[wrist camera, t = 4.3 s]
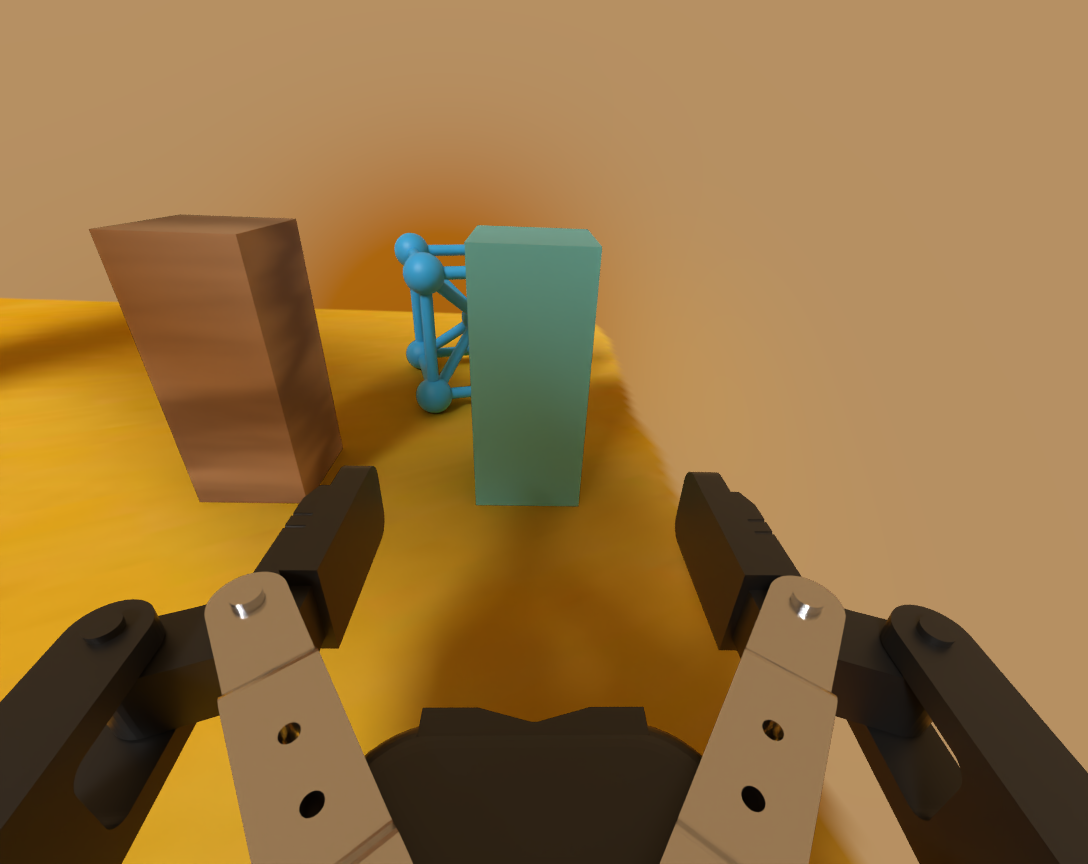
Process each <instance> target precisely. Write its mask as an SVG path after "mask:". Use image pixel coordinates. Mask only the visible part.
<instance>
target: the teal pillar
mask: <svg viewBox="0 0 1088 864" xmlns="http://www.w3.org/2000/svg"><path fill="white" fill-rule="evenodd" d="M464 244H465V267H466V289H467V312H468V335H469V358H470V381H471V403H472V426H473V449H474V472H475V495H476V505H515V506H578V504H579V493H580V482H581V472H582V461H583V450H584V439H585V428H586V417H587V406H588V395H589V384H590V374H591V363H592V352H593V341H594V330H595V318H596V308H597V297H598V286H599V276H600V264H601V253H602V246H601V245H600V244H599V243H598V241H597V240H596V239H595V238H594V237H593V236H592V234H591V233H590V232H589V230H587V229H562V228H535V227H508V226H479V225H478V226H477V227H476V228H475V229H474V231H473V232H472V233H471V235H470V236H469V237H468V238H467V240H466V241H465V242H464Z"/></svg>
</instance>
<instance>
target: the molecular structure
mask: <svg viewBox="0 0 1088 864" xmlns="http://www.w3.org/2000/svg"><path fill="white" fill-rule="evenodd" d="M395 255H396V257H397V259H398V261H399V262H400V263H401V264H402V265H404V267H403V276H404V280H405V282H406V284H407V285H408V287H409V288H410V291H411V300H412V311H413V321H414V330H415V341H413V342H412V343H410V344H409V346H408V348H407V351H406V356H407V360H408V361H409V363H410V364H411V365H412V366H413V367H415V368H418V369H421V371H422V374H423V378H424V381H422V382H421V383H420V385H419V386H418V388H417V391H416V399H417V402H418V404H419V405H420V407H421V408H422V409H423V410H425V411H427V412H431V413H439V412H442V411H444V410H446V409H447V408H448V407H449V405H450V404H451V401H452V399H456V398H466V397H471V386H466V387H456V388H451V387H450V386H449V384H448V382H449V380H450V378H451V376H452V375H453V373H454V371H455V369H456V368H457V366H458V364H459V362H460V360H461V359H462V357H463V356H464V355H469V335H468V312H467V298H466V297H465V296H464V295H463V294H462V293H461V292H460V291H459V290H458V289H457V288H456V287H455V286H454V285H453V284H452V283H451V282H450V281H449V280H451V279H452V280H453V279H466V267H465V266H446V267H443V266H442V264H441V262H440V260H438V259H437V258H436V257H435V256H457V255H465V245H427V244H426V242H425V240H424V239H423V238H422V237H421V236H419V235H417V234H413V233H406V234H403V235H402V236H401V237H399V238H398V240H397V242H396V244H395ZM435 292H438V293H439V294H441V295H442V296H443V297H445V298H446V299H447V300H448V301H450V302H451V303H453V304H454V305H455V306H456V307H458V308H459V309H460V310H461V311H463V312H462V322H461V323H459V324H458V325H456V326H455V327H453V328H452V329H450V330H449V331H447V332H446V333H444V334H443V335H441V336H440V337H438V338H437V339H436V336H435V323H434V310H433V298H432V293H435ZM461 334H463V335H462V336H461V338H460V340H459V342H458V343H457V345H456V347H448V348H441V347H443V346H444V345H446V344H447V343H449V342H450V341H452V340H454V339H455V338H457V337H458V336H460V335H461ZM440 357H449V359H448V361H447V363H446V364H445V366H444V368H443V370H442V371H441V373H440V375H439V374H438V361H437V358H440Z"/></svg>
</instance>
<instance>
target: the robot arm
mask: <svg viewBox="0 0 1088 864" xmlns="http://www.w3.org/2000/svg"><path fill="white" fill-rule="evenodd" d="M383 531H384V509H383V503H382V497H381V491H380V485H379V479H378V474H377V470H376V468H375V467H374V466H342V467H341V469H340V470H339V472H338V473H337V475H336V477H335V478H334V480H333V482H332V483H331V485H320V486H318V487H317V488H316V489H314V490H313V491H312V492H310V493H309V494H308V495H306V496H305V497H304V498H303V499H302V501H301V502H300V504H299V505H298V507H297V508H296V510H295V511H294V514H293V516H291V517H290V519H289V520H288V522H287V523H286V525H285V528H283V529H282V530H281V532H280V533H279V535H278V536H277V538H276V539H275V541H274V542H273V544H272V545H271V547H270V548H269V550H268V551H267V553H266V554H265V556H264V557H263V559H262V560H261V562H260V563H259V565H258V566H257V568H256V569H255V571H254V572H253V573H251V574H247V575H244V576H241V577H239V578H237V579H234V580H232V581H231V582H229V583H227V584H226V585H224V586H223V587H222V588H220V589H219V590H218V591H217V592H216V593H215V594H214V595H213V596H212V597H211V599H210V600H209V601H208V603H207V604H206V605H203V606H199V607H195V608H191V609H186V610H182V611H178V612H174V613H169V614H165V615H161V616H158V615H157V613H156V611H155V610H154V608H153V606H152V605H151V604H150V603H148V602H146V601H143V600H134V599H132V600H123V601H118V602H115V603H111V604H108V605H106V606H103V607H100V608H98V609H96V610H94V611H92V612H90V613H89V614H87V615H85V616H83V617H82V618H80V619H79V620H78V621H76V622H75V623H74V624H72V625H71V626H70V627H69V628H68V629H67V630H66V631H65V632H64V633H63V634H62V635H61V636H60V637H59V638H58V639H57V640H56V641H55V643H54V644H53V645H52V646H51V647H50V648H49V649H48V650H47V651H46V652H45V654H44V655H43V656H42V657H41V658H40V659H39V660H38V661H37V662H36V663H35V665H34V666H33V667H32V668H31V669H30V670H29V671H28V672H27V673H26V674H25V676H24V677H23V678H22V679H21V680H20V681H19V682H18V683H17V684H16V685H15V687H14V688H13V689H12V690H11V691H10V692H9V693H8V694H7V695H6V696H5V698H4V699H3V700H2V701H1V702H0V864H122V862H123V860H124V858H125V856H126V855H127V853H128V851H129V849H130V847H131V845H132V843H133V841H134V839H135V838H136V836H137V834H138V832H139V830H140V828H141V826H142V824H143V822H144V821H145V819H146V817H147V815H148V813H149V811H150V809H151V807H152V805H153V804H154V802H155V800H156V798H157V796H158V794H159V792H160V790H161V789H162V787H163V785H164V783H165V781H166V779H167V777H168V775H169V773H170V772H171V770H172V768H173V766H174V764H175V762H176V760H177V758H178V756H179V755H180V753H181V751H182V749H183V747H184V745H185V743H186V741H187V739H188V738H189V736H190V734H191V732H192V730H193V728H194V726H195V724H196V723H197V722H199V721H202V720H206V719H209V718H212V717H216V716H219V715H220V718H221V723H222V728H223V733H224V737H225V742H226V747H227V751H228V756H229V761H230V765H231V770H232V775H233V780H234V784H235V789H236V794H237V798H238V803H239V808H240V812H241V817H242V822H243V827H244V831H245V836H246V841H247V845H248V850H249V855H250V859H251V864H809V859H810V853H811V848H812V842H813V837H814V831H815V825H816V820H817V814H818V809H819V803H820V798H821V792H822V787H823V781H824V775H825V770H826V764H827V759H828V753H829V747H830V742H831V737H832V731H833V726H834V720H835V716H837V717H840V718H844V719H847V721H848V723H849V725H850V727H851V729H852V731H853V733H854V735H855V737H856V739H857V741H858V743H859V745H860V747H861V749H862V751H863V753H864V755H865V757H866V759H867V761H868V763H869V765H870V767H871V769H872V771H873V773H874V775H875V777H876V779H877V781H878V782H879V784H880V786H881V788H882V790H883V792H884V794H885V796H886V798H887V800H888V802H889V804H890V806H891V808H892V810H893V812H894V814H895V816H896V818H897V820H898V822H899V824H900V826H901V828H902V830H903V832H904V834H905V835H906V838H907V840H908V842H909V844H910V846H911V848H912V850H913V852H914V854H915V856H916V857H917V860H918V861H919V863H920V864H1088V773H1087V772H1086V770H1085V769H1084V768H1083V767H1082V766H1081V765H1080V763H1079V762H1078V761H1077V760H1076V759H1075V758H1074V757H1073V755H1072V754H1071V753H1070V752H1069V751H1068V750H1067V748H1066V747H1065V746H1064V745H1063V744H1062V742H1061V741H1060V740H1059V739H1058V738H1057V737H1056V736H1055V734H1054V733H1053V732H1052V731H1051V730H1050V729H1049V727H1048V726H1047V725H1046V724H1045V723H1044V721H1043V720H1042V719H1041V718H1040V717H1039V715H1038V714H1037V713H1036V712H1035V711H1034V710H1033V708H1032V707H1031V706H1030V705H1029V704H1028V703H1027V702H1026V700H1025V699H1024V698H1023V697H1022V696H1021V694H1020V693H1019V692H1018V691H1017V690H1016V689H1015V687H1013V685H1012V684H1011V683H1010V682H1009V680H1008V679H1007V678H1006V677H1005V676H1004V675H1003V673H1002V672H1000V670H999V669H998V668H997V666H996V665H995V664H994V663H993V662H992V661H991V659H990V658H989V657H988V656H987V655H986V654H985V652H984V651H983V650H982V649H981V648H980V647H979V645H978V644H977V643H976V642H975V641H974V640H973V638H972V637H971V636H970V635H969V634H968V633H967V632H966V631H965V630H964V629H963V628H961V627H960V626H959V625H958V624H957V623H955V622H954V621H952V620H950V619H949V618H947V617H946V616H944V615H942V614H940V613H938V612H936V611H933V610H931V609H928V608H925V607H921V606H916V605H903V606H899V607H896V608H895V609H894V610H893V611H892V613H891V615H890V616H889V618H888V620H885V619H881V618H878V617H874V616H870V615H866V614H862V613H858V612H854V611H850V610H847V609H844V608H843V606H842V604H841V603H840V601H839V600H838V599H837V597H836V596H835V595H834V594H832V593H831V592H830V591H829V590H828V589H826V588H825V587H823V586H822V585H820V584H818V583H816V582H814V581H812V580H809V579H807V578H803V577H801V575H800V574H799V572H798V570H797V569H796V567H795V566H794V564H793V563H792V561H791V560H790V558H789V557H788V555H787V554H786V552H785V550H784V549H783V547H782V546H781V544H780V543H779V541H778V540H777V538H776V537H775V535H772V531H771V529H770V527H769V526H768V524H767V523H766V522H764V518H763V517H762V515H761V513H760V512H759V510H758V509H757V507H756V506H755V505H754V504H753V503H752V502H751V501H749V500H748V499H747V498H746V497H744V496H743V495H742V494H741V493H739V492H730V490H729V489H728V487H727V485H726V483H725V482H724V480H723V479H722V477H721V475H720V474H719V473H711V472H688V473H687V475H686V476H685V480H684V484H683V488H682V493H681V497H680V502H679V506H678V510H677V515H676V521H675V532H676V539H677V542H678V545H679V547H680V550H681V553H682V555H683V558H684V560H685V563H686V566H687V568H688V571H689V573H690V576H691V579H692V581H693V584H694V586H695V589H696V592H697V594H698V597H699V599H700V602H701V605H702V607H703V610H704V612H705V615H706V618H707V620H708V623H709V625H710V628H711V631H712V633H713V636H714V638H715V641H716V644H717V646H718V649H719V650H737V651H738V653H739V656H740V658H741V660H740V663H739V665H738V668H737V670H736V673H735V675H734V678H733V681H732V683H731V686H730V688H729V691H728V693H727V696H726V698H725V701H724V703H723V706H722V708H721V711H720V713H719V716H718V718H717V721H716V723H715V726H714V728H713V731H712V733H711V736H710V739H709V741H708V744H707V746H706V749H705V751H704V754H703V756H701V755H700V754H699V753H698V752H697V751H696V750H694V749H693V748H692V747H690V746H689V745H687V744H686V743H684V742H683V741H682V740H680V739H678V738H676V737H674V736H673V735H671V734H669V733H667V732H664V731H662V730H659V729H657V728H654V727H651V726H647V722H646V717H645V712H644V707H589V708H585V709H582V710H578V711H575V712H571V713H567V714H564V715H560V716H557V717H553V718H550V719H546V720H543V721H538V722H530V721H526V720H522V719H518V718H514V717H511V716H507V715H503V714H500V713H496V712H492V711H489V710H485V709H481V708H423V709H422V715H421V720H420V725H419V727H416V728H413V729H410V730H407V731H405V732H402V733H400V734H398V735H395V736H394V737H392V738H390V739H388V740H386V741H384V742H383V743H381V744H380V745H378V746H377V747H375V748H374V749H373V750H371V751H370V752H368V753H367V754H366V755H365V756H364V754H363V752H362V750H361V747H360V745H359V743H358V740H357V738H356V736H355V734H354V731H353V729H352V727H351V724H350V722H349V720H348V717H347V715H346V713H345V710H344V708H343V706H342V703H341V701H340V699H339V697H338V694H337V692H336V690H335V687H334V685H333V683H332V680H331V678H330V676H329V673H328V671H327V669H326V667H325V664H324V662H323V660H322V657H321V655H320V653H319V651H320V648H339V646H340V644H341V641H342V639H343V636H344V634H345V631H346V628H347V626H348V623H349V621H350V618H351V616H352V613H353V611H354V608H355V605H356V603H357V600H358V598H359V595H360V593H361V590H362V587H363V585H364V582H365V580H366V577H367V575H368V572H369V570H370V567H371V564H372V562H373V559H374V557H375V554H376V552H377V549H378V546H379V544H380V541H381V539H382V536H383ZM932 721H933V722H934V724H935V726H936V727H937V729H938V730H939V732H940V733H941V735H942V736H943V738H944V739H945V741H946V742H947V744H948V745H949V747H950V748H951V750H952V751H953V753H954V755H955V756H956V758H957V760H958V763H959V766H960V767H959V766H958V764H957V763H956V761H955V760H954V758H953V757H952V755H951V754H950V752H949V751H948V749H947V747H946V746H945V744H944V743H943V741H942V740H941V738H940V737H939V735H938V734H937V732H936V731H935V729H934V728H933V726H932V725H931V723H932Z"/></svg>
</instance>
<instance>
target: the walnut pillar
mask: <svg viewBox="0 0 1088 864" xmlns="http://www.w3.org/2000/svg"><path fill="white" fill-rule="evenodd" d="M89 231H90V233H91V235H92V238H93V241H94V243H95V245H96V248H97V250H98V253H99V255H100V258H101V260H102V263H103V265H104V267H105V270H106V272H107V275H108V277H109V280H110V282H111V285H112V287H113V290H114V292H115V294H116V297H117V299H118V302H119V304H120V307H121V309H122V312H123V314H124V317H125V319H126V322H127V324H128V326H129V329H130V331H131V334H132V336H133V339H134V341H135V344H136V346H137V349H138V351H139V353H140V356H141V358H142V361H143V363H144V366H145V368H146V371H147V373H148V376H149V378H150V380H151V383H152V385H153V388H154V390H155V393H156V395H157V398H158V400H159V403H160V405H161V407H162V410H163V412H164V415H165V417H166V420H167V422H168V425H169V427H170V430H171V432H172V434H173V437H174V439H175V442H176V444H177V447H178V449H179V452H180V454H181V457H182V459H183V461H184V464H185V466H186V469H187V471H188V474H189V476H190V479H191V481H192V484H193V486H194V488H195V491H196V493H197V496H198V498H199V501H200V502H247V503H300V502H301V501H302V499H303V498H304V497H305V496H306V495H308V494H309V493H310V492H312V491H313V490H314V489H316V488H317V487H318V486H319V484H320V483H321V481H322V480H323V478H324V477H325V475H326V474H327V472H328V470H329V469H330V467H331V466H332V464H333V463H334V461H335V460H336V458H337V456H338V455H339V453H340V452H341V450H342V449H343V446H342V441H341V437H340V432H339V427H338V422H337V417H336V412H335V407H334V402H333V398H332V393H331V388H330V383H329V378H328V373H327V368H326V363H325V358H324V354H323V349H322V344H321V339H320V334H319V329H318V324H317V319H316V314H315V310H314V305H313V300H312V295H311V290H310V285H309V281H308V275H307V271H306V266H305V261H304V256H303V251H302V246H301V241H300V236H299V232H298V227H297V222H296V219H287V218H258V217H231V216H202V215H175V216H169V217H163V218H156V219H151V220H143V221H137V222H131V223H125V224H119V225H112V226H106V227H100V228H93V229H89Z"/></svg>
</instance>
